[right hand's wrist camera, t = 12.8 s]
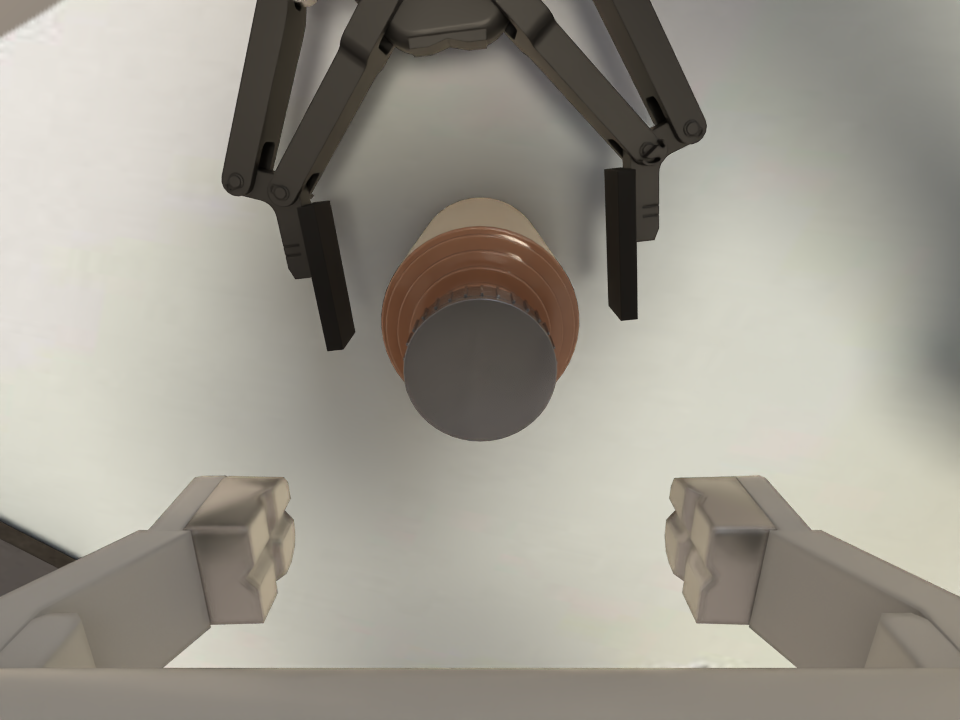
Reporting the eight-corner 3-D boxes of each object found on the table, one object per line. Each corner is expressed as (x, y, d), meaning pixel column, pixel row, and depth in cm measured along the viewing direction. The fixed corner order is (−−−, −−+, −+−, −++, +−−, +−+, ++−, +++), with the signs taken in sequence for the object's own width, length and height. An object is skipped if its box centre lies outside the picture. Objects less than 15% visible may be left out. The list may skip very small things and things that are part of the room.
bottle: (448, 340, 34) (420, 504, 18) (396, 228, 32) (313, 304, 16) (560, 295, 33) (633, 427, 17) (515, 176, 31) (553, 202, 15)
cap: (443, 439, 19) (440, 463, 17) (382, 317, 17) (374, 332, 16) (572, 391, 18) (580, 412, 17) (521, 260, 17) (525, 270, 15)
